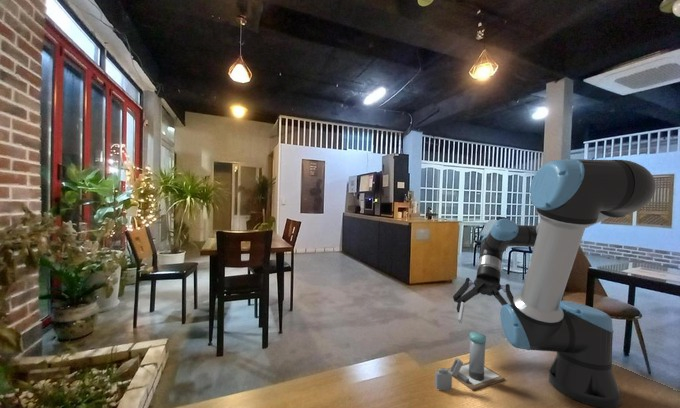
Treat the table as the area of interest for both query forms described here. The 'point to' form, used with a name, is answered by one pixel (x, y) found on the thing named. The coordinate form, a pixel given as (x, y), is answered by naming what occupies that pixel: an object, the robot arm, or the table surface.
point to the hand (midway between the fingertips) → (481, 327)
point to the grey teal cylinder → (477, 356)
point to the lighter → (447, 376)
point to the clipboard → (473, 384)
